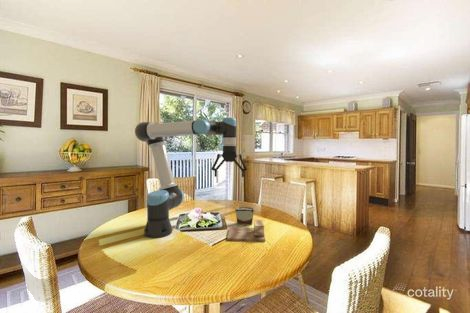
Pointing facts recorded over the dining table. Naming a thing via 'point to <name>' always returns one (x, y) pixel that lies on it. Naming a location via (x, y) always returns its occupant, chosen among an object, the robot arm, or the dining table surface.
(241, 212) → the food container
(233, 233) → the board
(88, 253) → the dining table surface
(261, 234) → the sanding block
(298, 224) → the dining table surface
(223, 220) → the dining table surface
